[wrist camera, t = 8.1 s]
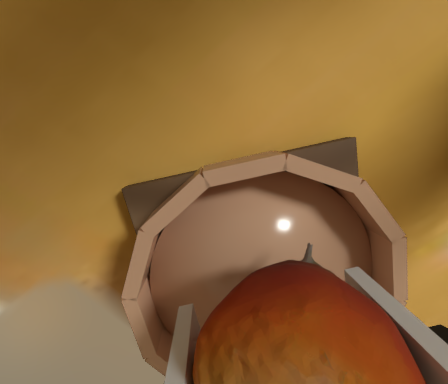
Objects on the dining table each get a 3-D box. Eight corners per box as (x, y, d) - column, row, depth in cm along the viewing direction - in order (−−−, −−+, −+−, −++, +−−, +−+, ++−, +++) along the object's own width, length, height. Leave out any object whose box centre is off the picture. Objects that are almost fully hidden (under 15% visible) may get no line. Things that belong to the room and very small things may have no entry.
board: (127, 185, 14) (121, 189, 13) (345, 137, 14) (355, 137, 13) (187, 368, 18) (185, 381, 17) (361, 329, 18) (369, 340, 17)
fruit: (424, 315, 11) (542, 661, 5) (284, 321, 16) (252, 502, 10) (346, 187, 9) (373, 469, 3) (215, 237, 14) (120, 390, 8)
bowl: (106, 187, 13) (82, 198, 11) (368, 129, 13) (404, 127, 11) (176, 387, 17) (170, 429, 14) (380, 341, 17) (409, 375, 14)
